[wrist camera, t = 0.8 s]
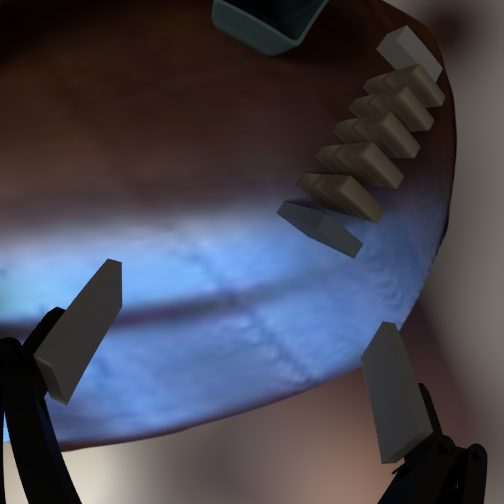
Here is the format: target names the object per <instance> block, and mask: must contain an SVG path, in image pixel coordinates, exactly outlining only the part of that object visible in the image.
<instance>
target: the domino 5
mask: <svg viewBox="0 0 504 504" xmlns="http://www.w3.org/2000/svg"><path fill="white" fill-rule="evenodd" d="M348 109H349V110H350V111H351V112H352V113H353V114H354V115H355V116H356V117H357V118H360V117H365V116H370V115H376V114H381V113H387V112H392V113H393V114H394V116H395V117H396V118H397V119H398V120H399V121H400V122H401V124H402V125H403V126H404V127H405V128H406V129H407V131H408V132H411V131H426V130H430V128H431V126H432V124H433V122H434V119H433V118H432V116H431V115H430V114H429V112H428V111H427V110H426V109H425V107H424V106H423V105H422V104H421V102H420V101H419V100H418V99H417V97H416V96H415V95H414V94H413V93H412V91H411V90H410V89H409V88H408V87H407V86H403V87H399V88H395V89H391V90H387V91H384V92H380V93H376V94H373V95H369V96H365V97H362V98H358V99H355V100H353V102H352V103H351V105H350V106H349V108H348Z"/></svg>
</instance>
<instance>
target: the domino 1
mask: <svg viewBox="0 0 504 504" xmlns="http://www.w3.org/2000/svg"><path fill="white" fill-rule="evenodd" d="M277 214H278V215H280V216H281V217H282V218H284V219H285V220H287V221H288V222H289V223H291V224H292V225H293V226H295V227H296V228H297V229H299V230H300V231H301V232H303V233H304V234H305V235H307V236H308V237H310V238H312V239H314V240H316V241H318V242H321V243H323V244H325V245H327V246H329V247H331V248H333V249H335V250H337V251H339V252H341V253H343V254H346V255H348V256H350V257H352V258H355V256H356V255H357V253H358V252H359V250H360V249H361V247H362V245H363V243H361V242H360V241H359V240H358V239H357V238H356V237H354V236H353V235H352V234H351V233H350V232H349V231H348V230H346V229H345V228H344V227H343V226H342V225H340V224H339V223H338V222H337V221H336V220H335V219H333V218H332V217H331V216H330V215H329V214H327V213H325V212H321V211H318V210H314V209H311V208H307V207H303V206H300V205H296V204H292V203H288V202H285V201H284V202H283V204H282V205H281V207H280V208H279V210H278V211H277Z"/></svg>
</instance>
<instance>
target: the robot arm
mask: <svg viewBox="0 0 504 504" xmlns="http://www.w3.org/2000/svg"><path fill="white" fill-rule="evenodd" d="M121 308H122V262H119V261H115V260H111V259H107V260H106V261H105V263H104V264H103V265H102V266H101V267H100V268H99V270H98V271H97V272H96V273H95V274H94V276H93V277H92V278H91V279H90V280H89V282H88V283H87V284H86V285H85V287H84V288H83V289H82V290H81V292H80V293H79V294H78V295H77V297H76V298H75V299H74V300H73V302H72V303H71V304H70V306H69V307H68V308H67V310H64V309H62V308H59V307H56V308H54V309H52V310H51V311H49V312H47V314H46V315H45V316H44V317H43V319H42V320H41V322H39V324H38V325H37V326H36V329H34V330H33V332H32V333H31V334H30V335H29V337H28V338H27V339H26V341H25V342H24V343H23V345H21V343H20V342H19V341H18V340H17V339H15V338H12V337H6V338H3V339H0V504H6V499H5V489H4V471H3V426H4V412H5V418H6V423H7V428H8V433H9V438H10V442H11V446H12V450H13V454H14V458H15V462H16V466H17V468H18V473H19V476H20V479H21V482H22V485H23V488H24V492H25V494H26V497H27V500H28V503H29V504H82V503H81V501H80V498H79V496H78V494H77V492H76V489H75V487H74V485H73V482H72V480H71V477H70V475H69V472H68V470H67V467H66V465H65V462H64V459H63V457H62V454H61V451H60V448H59V445H58V442H57V439H56V436H55V433H54V429H53V426H52V423H51V419H50V416H49V412H48V409H47V405H46V401H45V399H44V396H45V395H46V393H47V391H48V392H49V394H50V397H51V398H52V399H54V400H56V401H58V402H61V403H63V404H65V405H67V404H68V402H69V400H70V398H71V396H72V394H73V392H74V390H75V388H76V386H77V384H78V383H79V381H80V379H81V377H82V375H83V373H84V371H85V370H86V368H87V366H88V364H89V362H90V361H91V359H92V357H93V355H94V353H95V352H96V350H97V348H98V346H99V345H100V343H101V341H102V339H103V338H104V336H105V334H106V333H107V331H108V329H109V328H110V326H111V324H112V322H113V321H114V319H115V317H116V316H117V314H118V312H119V311H120V309H121ZM361 362H362V366H363V371H364V375H365V380H366V384H367V389H368V393H369V398H370V402H371V407H372V412H373V418H374V423H375V428H376V433H377V438H378V444H379V450H380V455H381V462H382V464H384V463H385V464H387V463H397V462H398V461H399V460H400V459H402V458H403V457H404V460H405V463H404V464H402V465H401V466H400V467H398V468H397V469H396V470H394V471H393V472H392V474H395V473H396V472H397V474H396V476H395V477H394V479H393V480H392V482H391V484H390V485H389V487H388V488H387V490H386V491H385V493H384V494H383V496H382V497H381V499H380V500H379V502H378V504H484V496H485V487H486V476H487V452H486V450H485V449H484V447H483V446H481V445H480V444H472V445H471V446H470V447H468V448H467V449H465V448H461V447H457V446H455V444H454V442H453V440H452V439H451V438H450V437H448V436H446V435H443V433H442V430H441V427H440V423H439V420H438V417H437V414H436V411H435V409H434V405H433V402H432V399H431V396H430V394H429V391H428V390H427V389H426V387H425V386H424V384H423V383H417V380H416V377H415V374H414V372H413V369H412V366H411V363H410V361H409V358H408V355H407V353H406V350H405V347H404V345H403V342H402V340H401V337H400V335H399V332H398V330H397V327H396V325H395V323H389V322H384V321H383V322H382V324H381V325H380V327H379V329H378V330H377V332H376V334H375V335H374V337H373V339H372V340H371V342H370V343H369V345H368V347H367V348H366V350H365V351H364V353H363V355H362V356H361ZM457 484H458V487H457Z"/></svg>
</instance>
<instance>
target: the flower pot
mask: <svg viewBox="0 0 504 504" xmlns="http://www.w3.org/2000/svg"><path fill="white" fill-rule="evenodd" d="M328 1H329V0H214V1H213V9H212V21H213V24H214V25H215V27H216V28H217V29H219V30H220V31H221V32H223V33H225V34H226V35H228V36H230V37H232V38H234V39H236V40H238V41H240V42H241V43H243V44H245V45H247V46H248V47H250V48H252V49H253V50H255V51H257V52H259V53H261V54H264V55H268V56H276V55H279V54H281V53H284V52H286V51H288V50H290V49H292V48H294V47H296V46H298V45H300V44H301V42H302V41H303V39H304V37H305V36H306V34H307V33H308V31H309V30H310V28H311V26H312V25H313V23H314V21H315V20H316V19H317V17H318V15H319V14H320V12H321V11H322V9H323V8H324V7H325V5H326V4H327V2H328ZM256 17H259V18H260V20H259V19H257V18H256Z"/></svg>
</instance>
